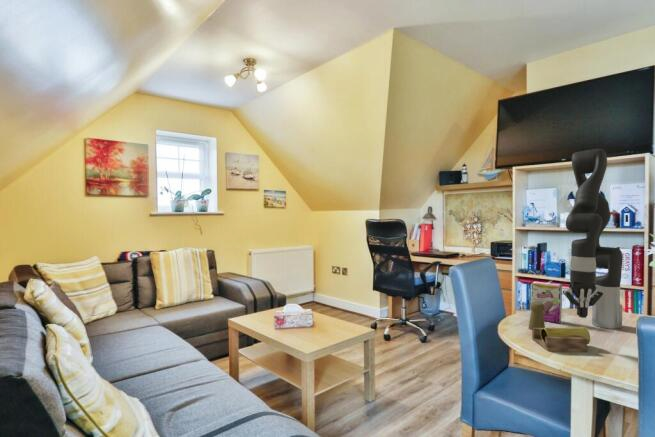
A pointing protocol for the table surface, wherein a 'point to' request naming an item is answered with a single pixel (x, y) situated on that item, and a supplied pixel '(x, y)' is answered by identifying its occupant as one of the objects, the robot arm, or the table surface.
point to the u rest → (560, 342)
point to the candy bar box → (548, 299)
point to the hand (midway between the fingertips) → (582, 317)
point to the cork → (536, 315)
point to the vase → (565, 333)
